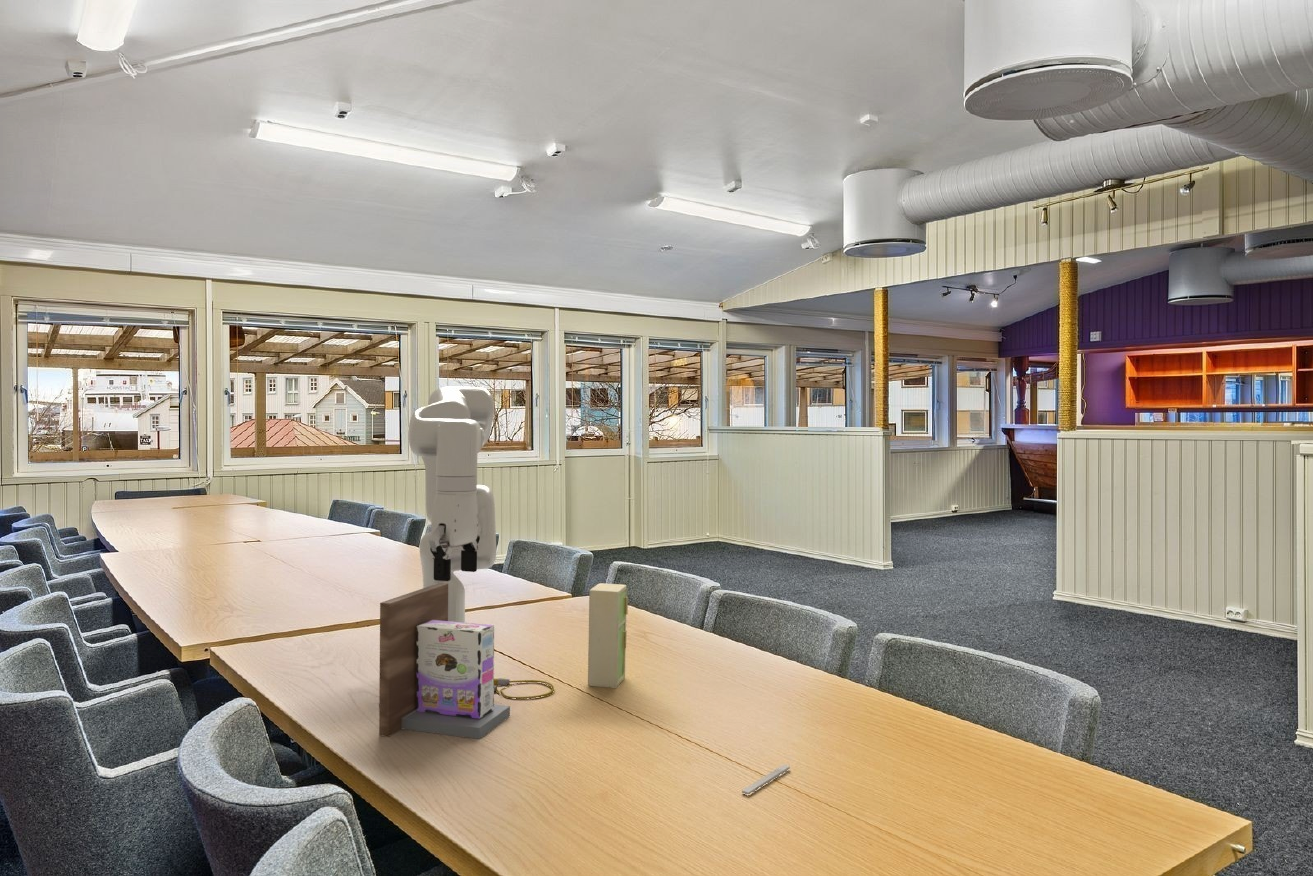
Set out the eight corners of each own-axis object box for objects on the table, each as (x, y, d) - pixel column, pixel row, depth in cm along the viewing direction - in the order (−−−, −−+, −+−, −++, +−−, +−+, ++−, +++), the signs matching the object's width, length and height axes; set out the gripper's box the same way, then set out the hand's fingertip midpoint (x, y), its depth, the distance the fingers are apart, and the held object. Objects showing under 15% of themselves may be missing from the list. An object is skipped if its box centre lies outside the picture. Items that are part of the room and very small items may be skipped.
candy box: (495, 710, 154) (496, 624, 154) (479, 720, 148) (480, 631, 148) (432, 701, 158) (433, 618, 158) (414, 711, 152) (415, 624, 152)
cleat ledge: (401, 728, 149) (401, 718, 149) (436, 707, 161) (436, 697, 161) (479, 739, 145) (479, 728, 145) (509, 716, 156) (509, 706, 156)
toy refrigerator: (620, 689, 173) (621, 591, 173) (587, 686, 175) (588, 589, 175) (628, 677, 181) (629, 584, 181) (597, 675, 183) (598, 582, 182)
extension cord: (513, 678, 182) (514, 669, 182) (565, 692, 172) (565, 682, 172) (472, 692, 172) (472, 682, 172) (524, 707, 163) (524, 697, 163)
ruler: (748, 799, 123) (748, 792, 123) (741, 797, 124) (741, 790, 124) (789, 772, 133) (789, 766, 133) (783, 770, 134) (783, 764, 134)
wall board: (379, 735, 146) (380, 602, 145) (438, 700, 165) (439, 582, 165) (388, 736, 145) (389, 603, 145) (447, 701, 164) (448, 583, 164)
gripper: (462, 481, 162) (461, 566, 162) (413, 488, 145) (412, 583, 145) (496, 483, 160) (495, 569, 160) (450, 489, 143) (449, 585, 143)
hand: (455, 575), depth 153 cm, fingers open, 9 cm apart
